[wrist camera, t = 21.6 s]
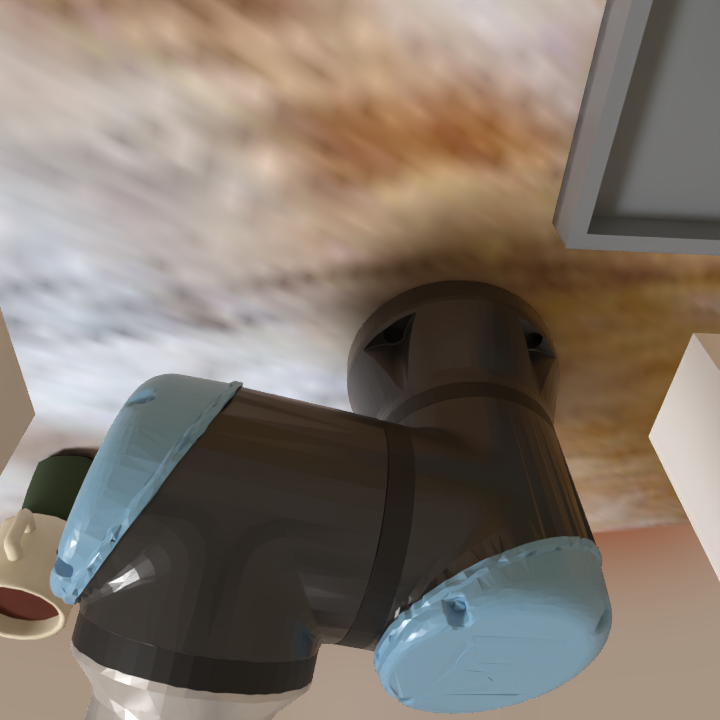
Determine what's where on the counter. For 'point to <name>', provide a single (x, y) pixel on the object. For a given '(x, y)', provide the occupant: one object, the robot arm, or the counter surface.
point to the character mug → (37, 550)
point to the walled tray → (648, 134)
